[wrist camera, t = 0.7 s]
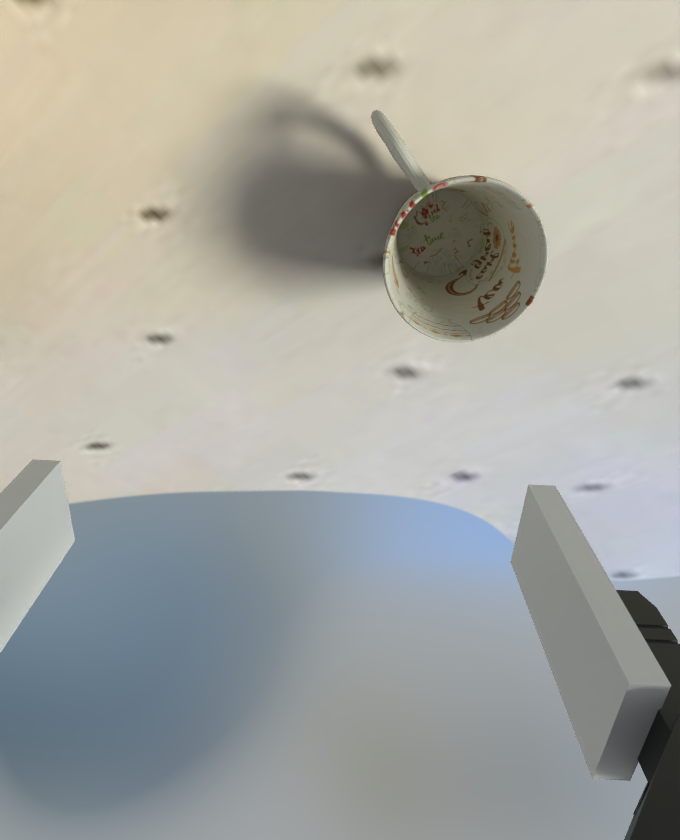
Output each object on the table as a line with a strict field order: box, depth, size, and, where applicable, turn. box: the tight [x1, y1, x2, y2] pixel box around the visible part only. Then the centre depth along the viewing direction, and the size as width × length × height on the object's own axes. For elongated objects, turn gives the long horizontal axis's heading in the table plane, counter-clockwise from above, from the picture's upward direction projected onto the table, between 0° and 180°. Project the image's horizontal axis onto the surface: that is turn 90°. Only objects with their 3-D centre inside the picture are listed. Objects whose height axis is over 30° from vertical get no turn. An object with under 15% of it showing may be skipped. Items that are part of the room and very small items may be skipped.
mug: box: [371, 110, 548, 342], centre depth 34 cm, size 8×13×10 cm, turn 36°
